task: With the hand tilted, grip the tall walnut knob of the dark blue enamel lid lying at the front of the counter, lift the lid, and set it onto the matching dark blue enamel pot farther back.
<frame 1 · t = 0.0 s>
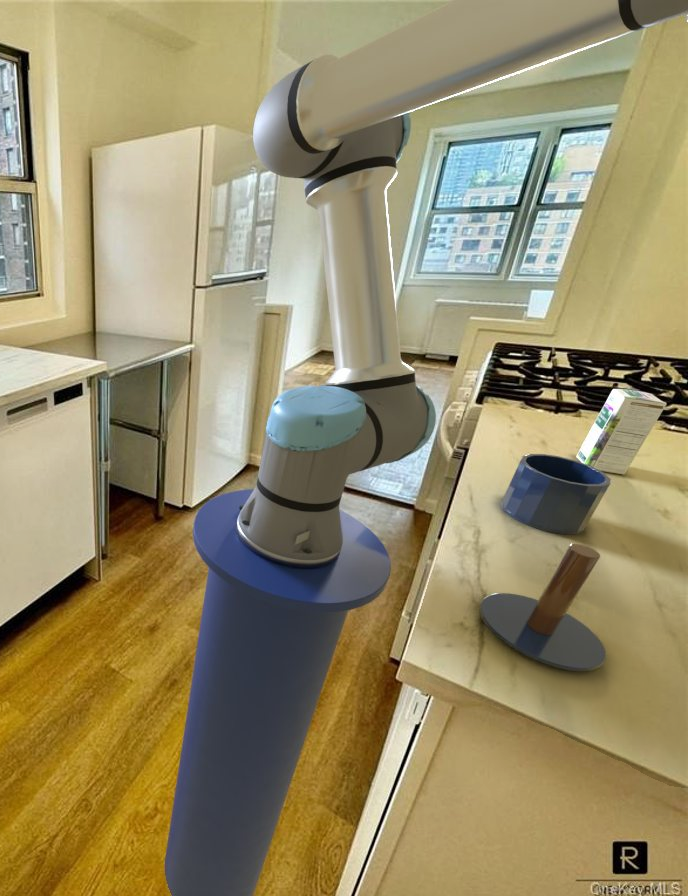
pot: (540, 515, 77), on the worktop
lid: (538, 630, 55), point 1 cm above the worktop
syrup box: (599, 466, 93), on the worktop
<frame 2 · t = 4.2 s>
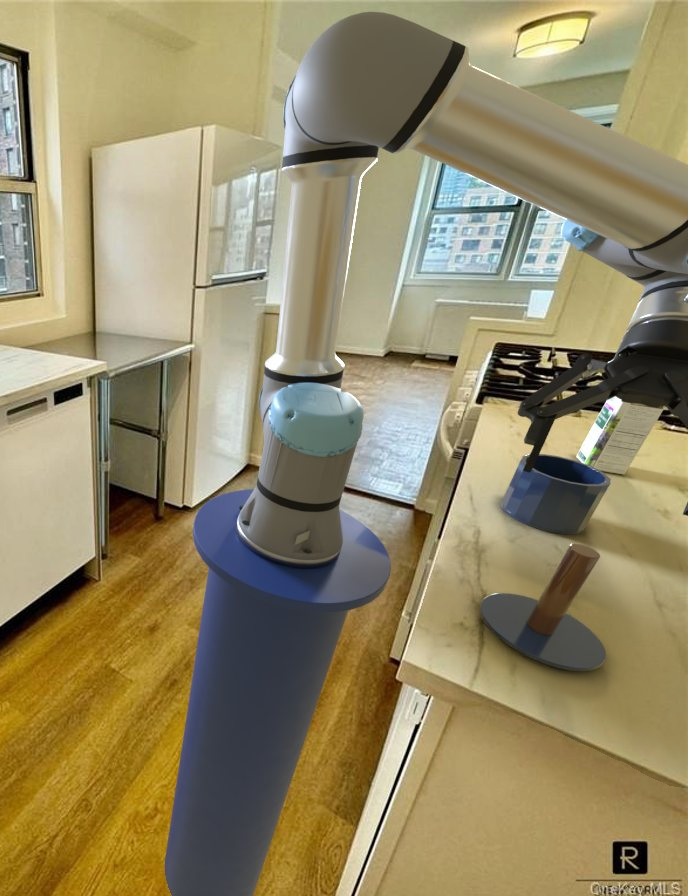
hand: (604, 488, 55), 15 cm above the worktop, tool tilted 45°, fingers open, 13 cm apart
nothing on the worktop moved.
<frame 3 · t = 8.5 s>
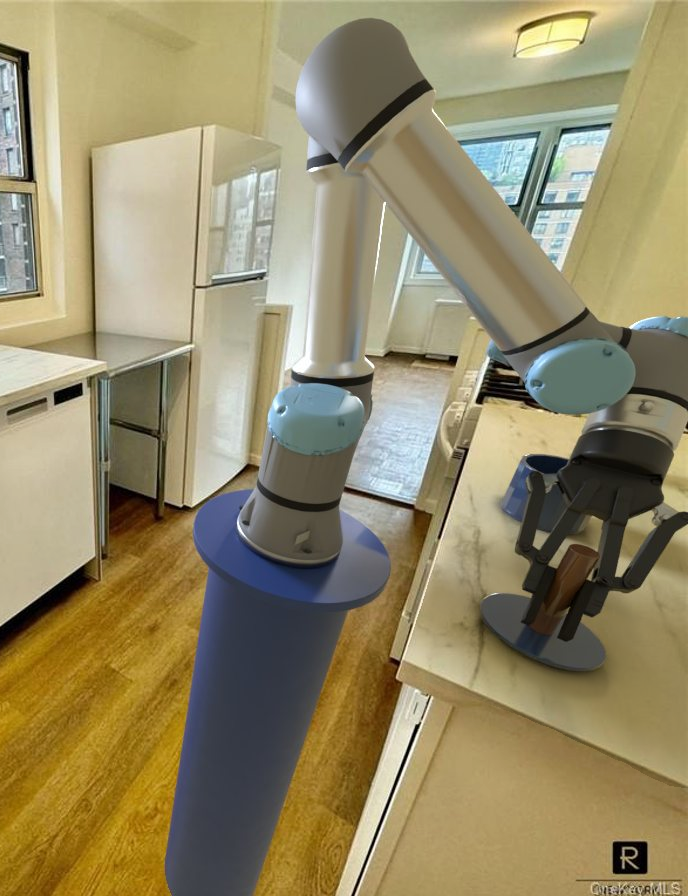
hand: (545, 629, 52), 4 cm above the worktop, tool tilted 45°, fingers closed on lid, 2 cm apart
lid: (538, 630, 55), point 1 cm above the worktop, touching gripper
everything else where it was.
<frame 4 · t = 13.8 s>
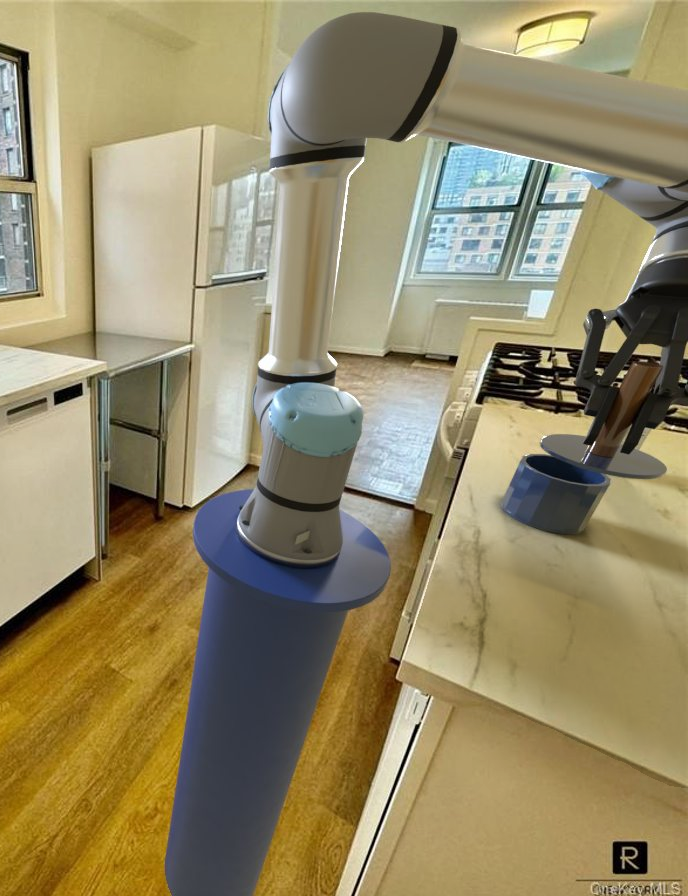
hand: (609, 443, 55), 20 cm above the worktop, tool tilted 45°, fingers closed on lid, 2 cm apart
lid: (598, 456, 58), point 17 cm above the worktop, touching gripper
everything else where it was.
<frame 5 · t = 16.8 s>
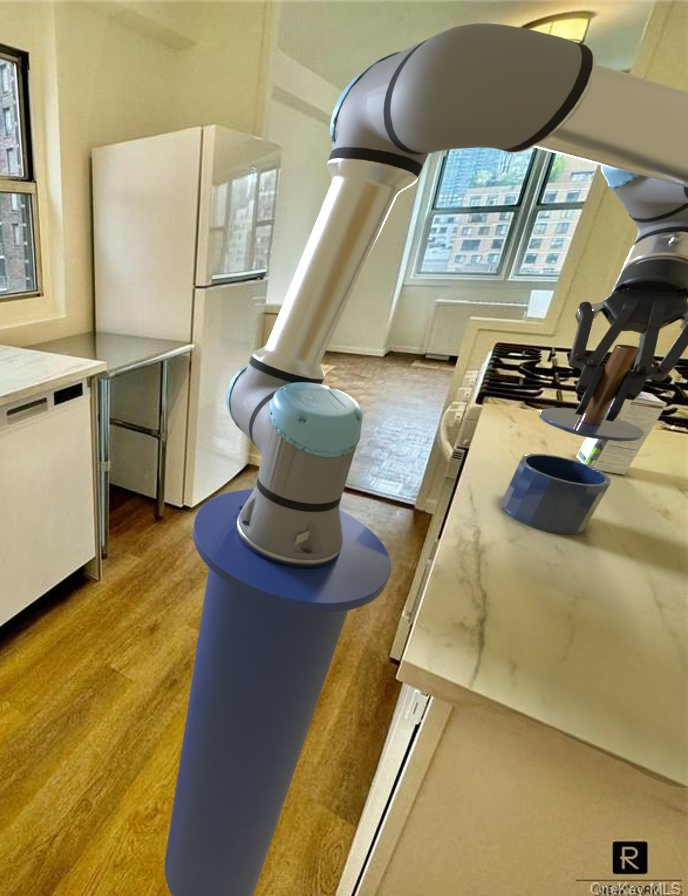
hand: (596, 412, 66), 19 cm above the worktop, tool tilted 45°, fingers closed on lid, 2 cm apart
lid: (588, 425, 70), point 16 cm above the worktop, touching gripper
everything else where it was.
when the fingers open (11 cm above the worktop, at t = 19.0 s): lid stays where it is, resting on pot.
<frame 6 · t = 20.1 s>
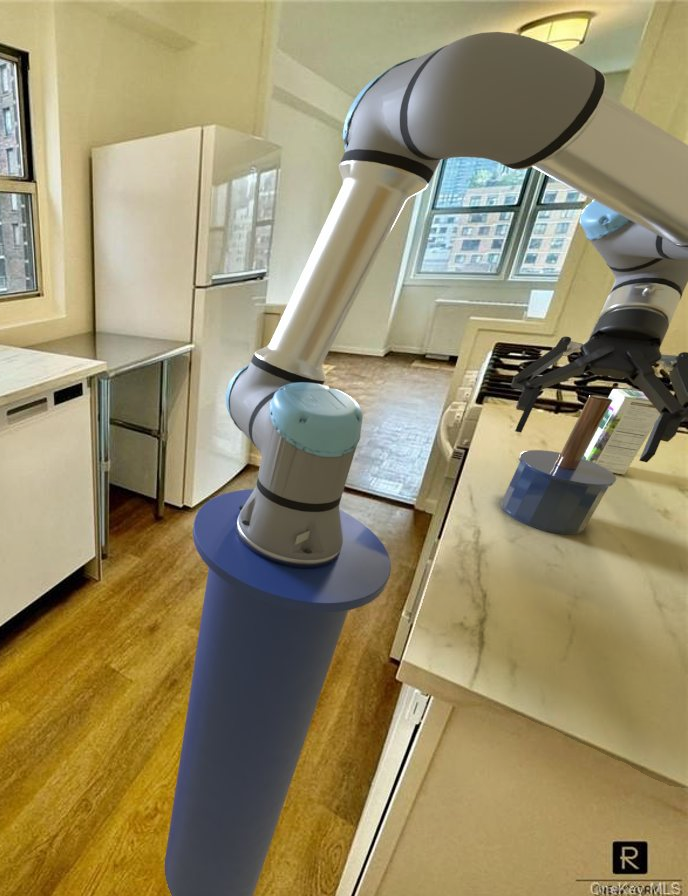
hand: (579, 442, 70), 14 cm above the worktop, tool tilted 45°, fingers open, 13 cm apart
lid: (564, 468, 74), point 8 cm above the worktop, touching pot
everything else where it was.
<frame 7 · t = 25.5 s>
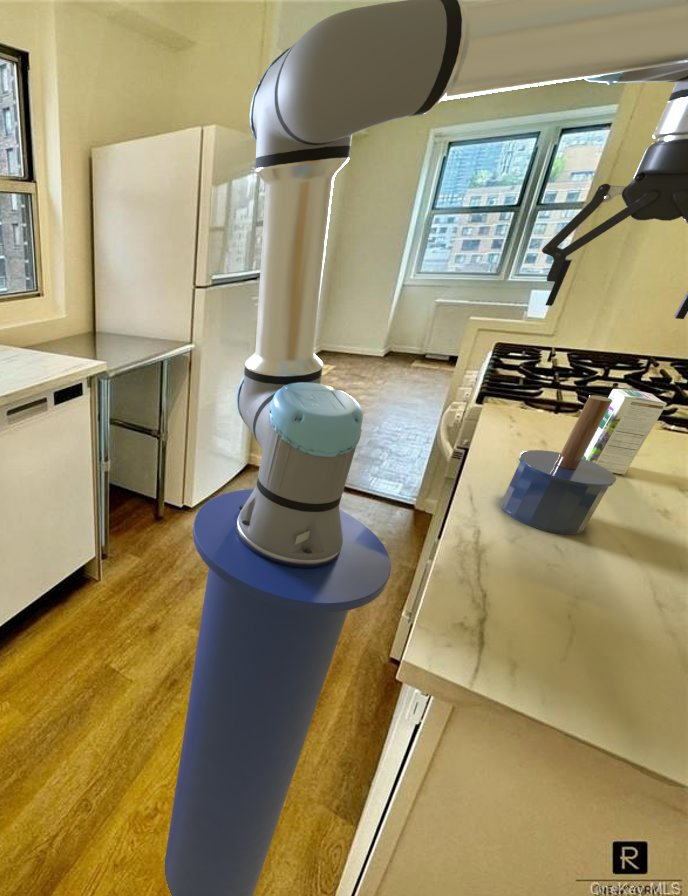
hand: (609, 310, 71), 31 cm above the worktop, tool pointing down, fingers open, 13 cm apart
nothing on the worktop moved.
at the end: lid 0.1 cm off-centre on the pot, point 8.5 cm above the pot's base; lid tilted 0°; the gripper is holding nothing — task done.
